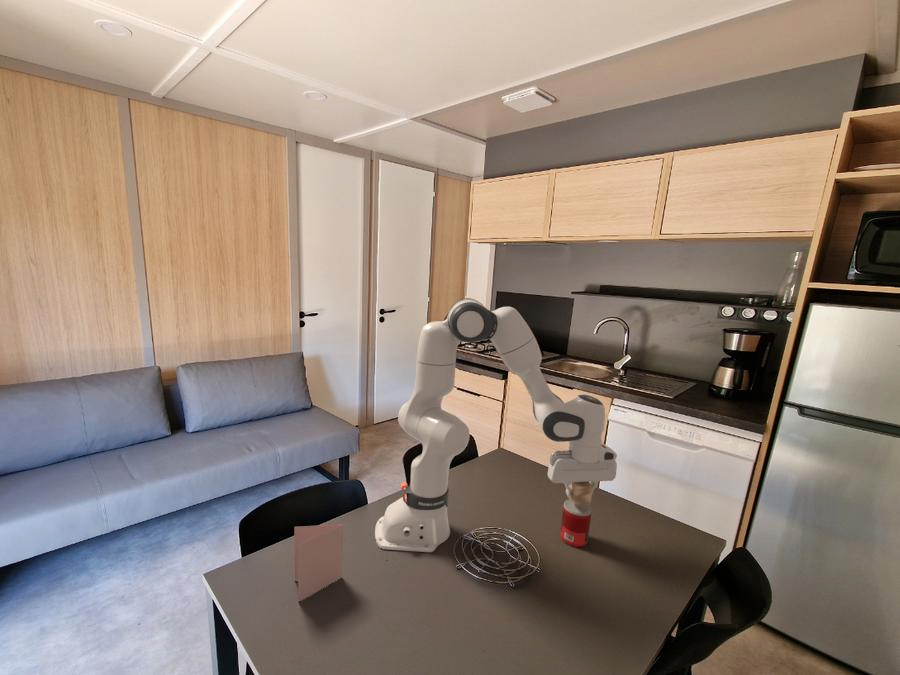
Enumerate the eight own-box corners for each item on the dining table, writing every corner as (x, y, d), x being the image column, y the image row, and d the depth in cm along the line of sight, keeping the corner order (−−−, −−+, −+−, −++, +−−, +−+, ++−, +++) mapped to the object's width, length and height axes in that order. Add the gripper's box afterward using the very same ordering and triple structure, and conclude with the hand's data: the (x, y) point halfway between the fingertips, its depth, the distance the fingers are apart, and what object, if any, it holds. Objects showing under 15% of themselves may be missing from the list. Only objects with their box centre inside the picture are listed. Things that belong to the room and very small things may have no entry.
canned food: (591, 548, 116) (595, 514, 115) (563, 547, 116) (567, 513, 115) (582, 532, 124) (587, 499, 122) (557, 530, 124) (561, 498, 122)
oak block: (574, 505, 115) (576, 486, 114) (566, 495, 120) (568, 477, 119) (590, 504, 116) (592, 485, 115) (581, 495, 121) (584, 476, 120)
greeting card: (342, 575, 101) (343, 522, 98) (339, 599, 94) (340, 542, 91) (295, 578, 99) (295, 524, 96) (288, 603, 92) (288, 545, 89)
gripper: (555, 456, 110) (550, 501, 113) (622, 454, 114) (616, 498, 116) (546, 446, 117) (542, 489, 119) (609, 444, 120) (604, 486, 123)
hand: (579, 493), depth 118 cm, fingers closed on oak block, 5 cm apart
